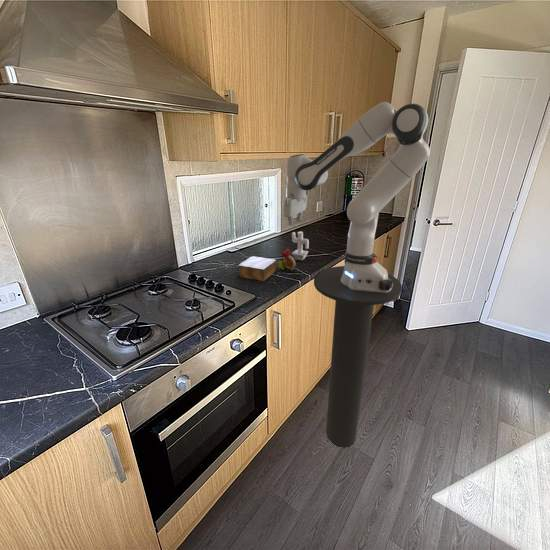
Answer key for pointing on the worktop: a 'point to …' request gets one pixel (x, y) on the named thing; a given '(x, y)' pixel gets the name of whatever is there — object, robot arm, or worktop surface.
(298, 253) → the figurine
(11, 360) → the worktop surface
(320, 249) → the worktop surface
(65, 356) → the worktop surface
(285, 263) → the bird rattle
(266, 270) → the wooden block
